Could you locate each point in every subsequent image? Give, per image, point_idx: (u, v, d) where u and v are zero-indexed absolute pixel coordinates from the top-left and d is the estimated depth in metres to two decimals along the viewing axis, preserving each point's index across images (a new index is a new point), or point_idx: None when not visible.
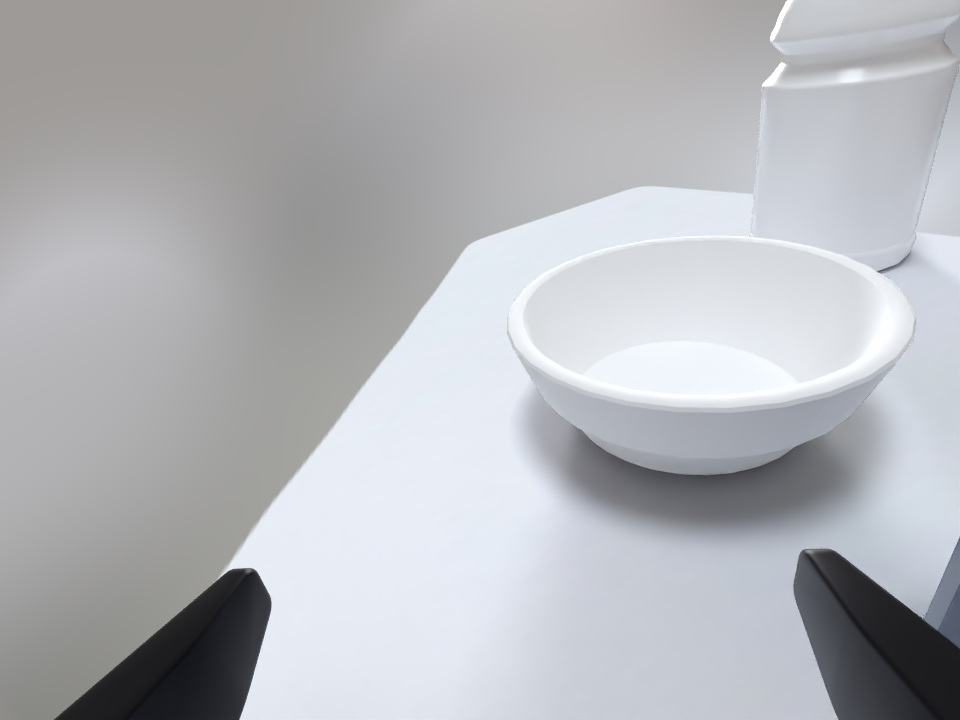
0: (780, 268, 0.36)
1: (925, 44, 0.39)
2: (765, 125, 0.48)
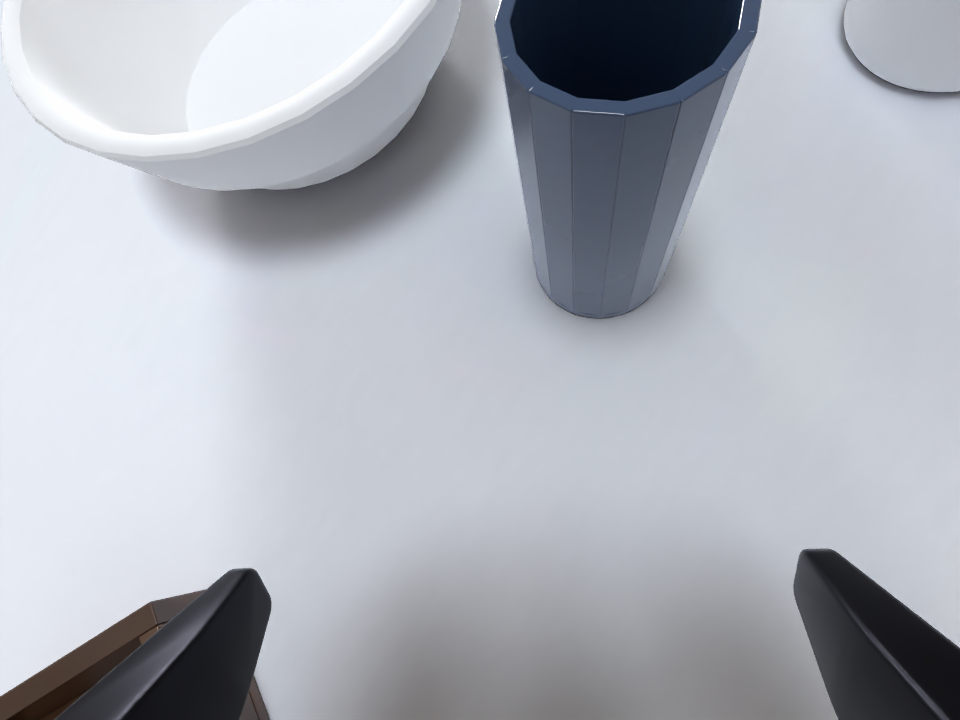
0: None
1: None
2: None
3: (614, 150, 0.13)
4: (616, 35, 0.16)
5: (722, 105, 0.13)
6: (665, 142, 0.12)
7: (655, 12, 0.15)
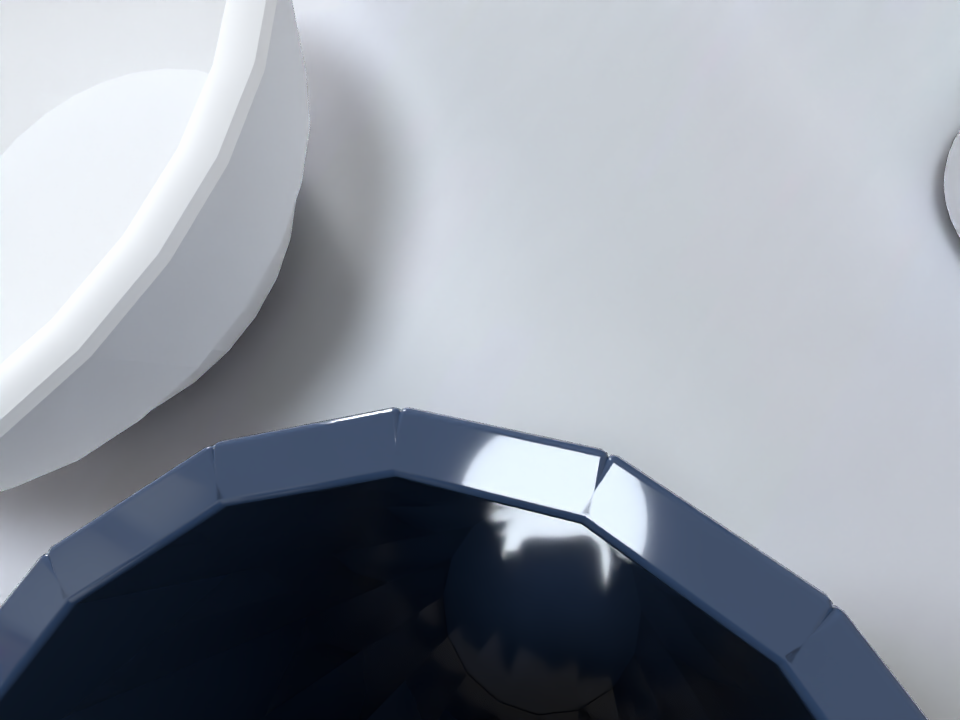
0: None
1: None
2: None
3: None
4: None
5: None
6: None
7: None
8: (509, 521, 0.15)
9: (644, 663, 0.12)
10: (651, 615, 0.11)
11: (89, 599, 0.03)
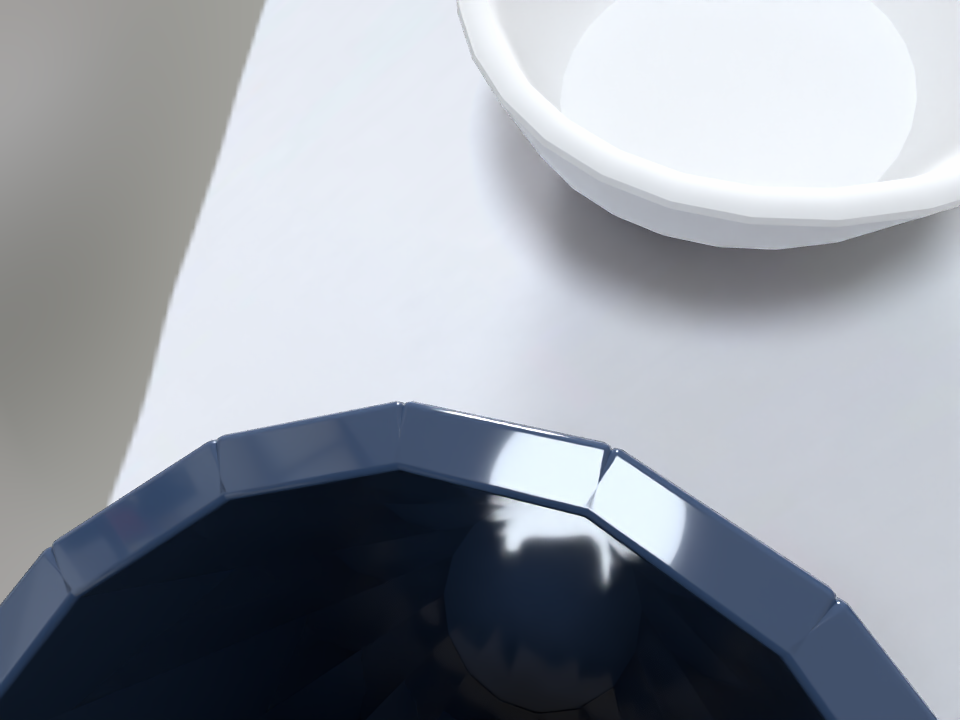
0: None
1: None
2: None
3: None
4: None
5: None
6: None
7: None
8: (510, 519, 0.15)
9: (645, 661, 0.12)
10: (652, 613, 0.11)
11: (93, 593, 0.03)
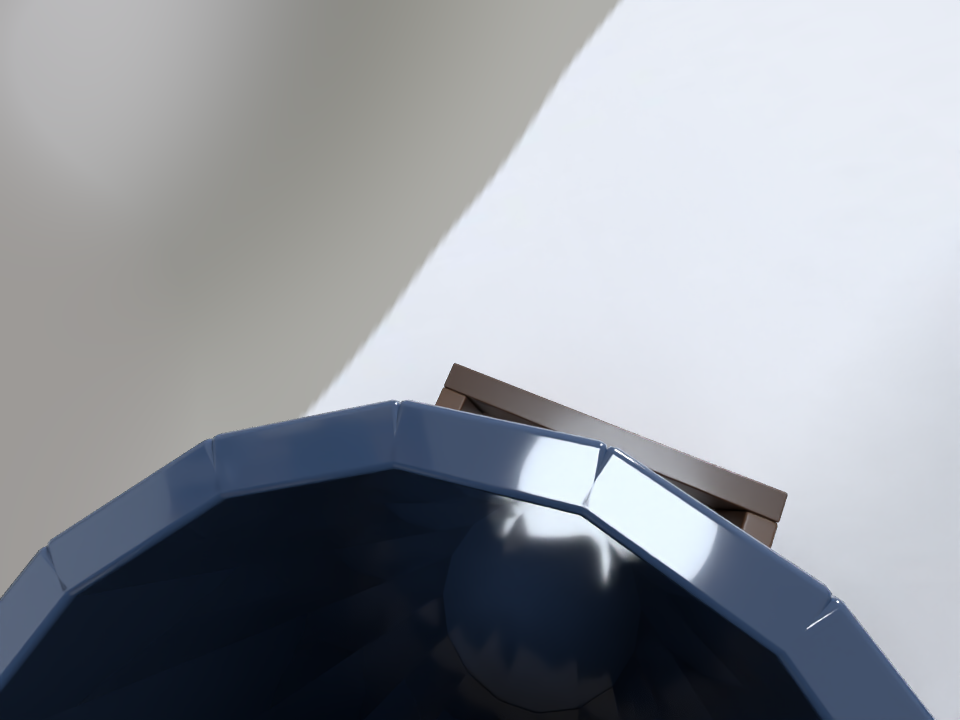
0: None
1: None
2: None
3: None
4: None
5: None
6: None
7: None
8: (509, 519, 0.15)
9: (644, 661, 0.12)
10: (651, 613, 0.11)
11: (87, 592, 0.03)
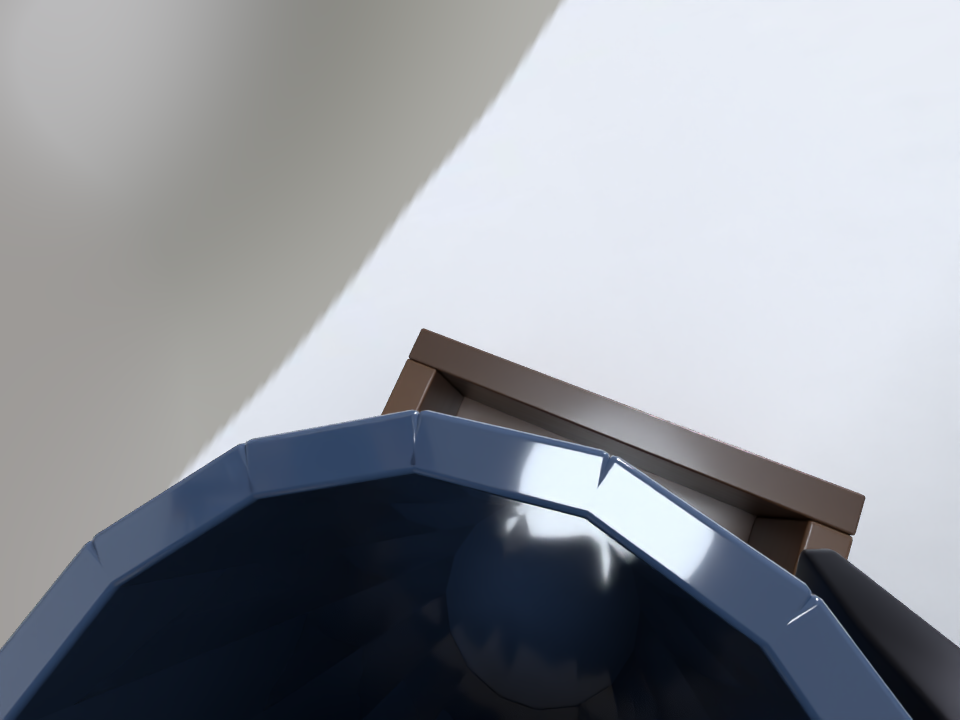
0: None
1: None
2: None
3: None
4: None
5: None
6: None
7: None
8: (511, 519, 0.15)
9: (642, 660, 0.12)
10: (650, 613, 0.11)
11: (130, 582, 0.03)
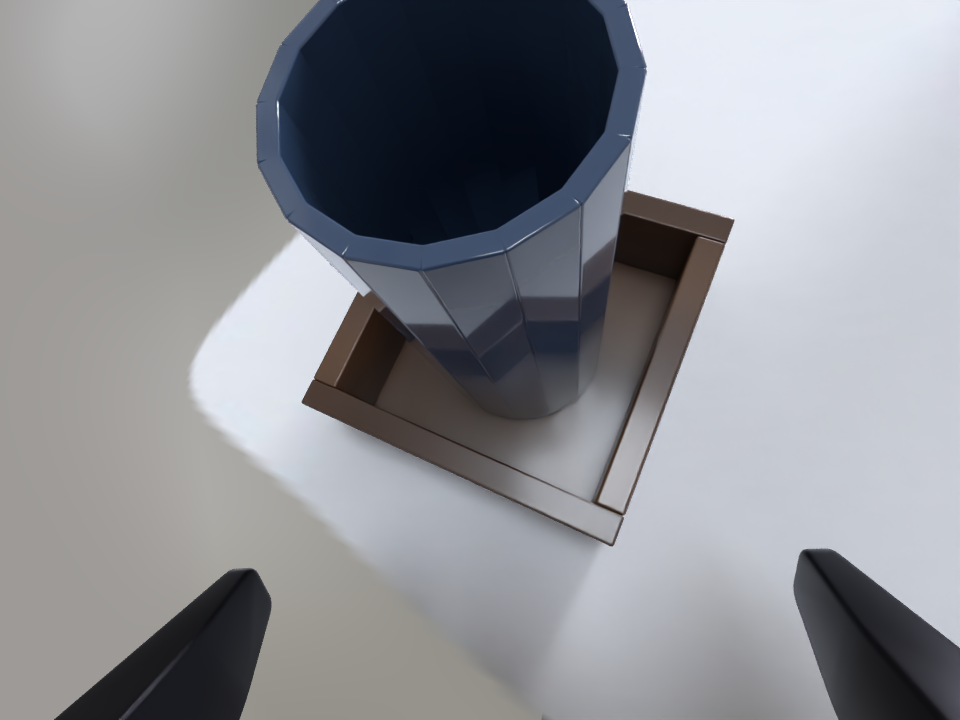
0: None
1: None
2: None
3: (432, 301, 0.08)
4: (488, 100, 0.12)
5: (599, 231, 0.08)
6: (508, 290, 0.08)
7: (531, 74, 0.10)
8: None
9: None
10: None
11: (341, 8, 0.09)
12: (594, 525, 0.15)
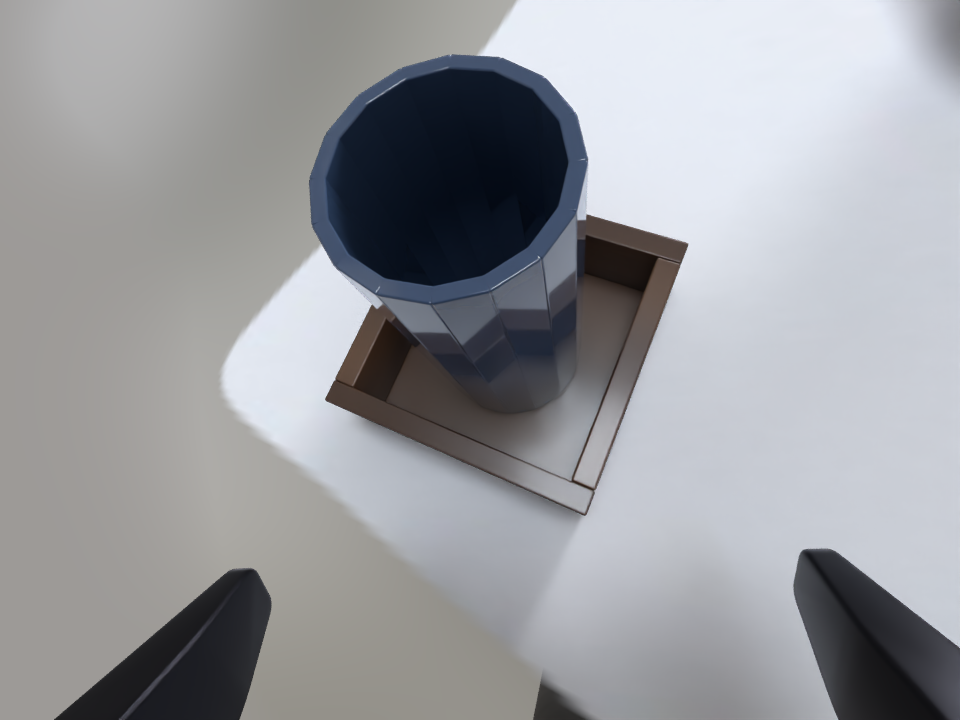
0: None
1: None
2: None
3: (438, 323, 0.11)
4: (480, 159, 0.15)
5: (560, 271, 0.12)
6: (493, 315, 0.11)
7: (512, 144, 0.14)
8: None
9: None
10: None
11: (369, 106, 0.12)
12: (570, 498, 0.18)
